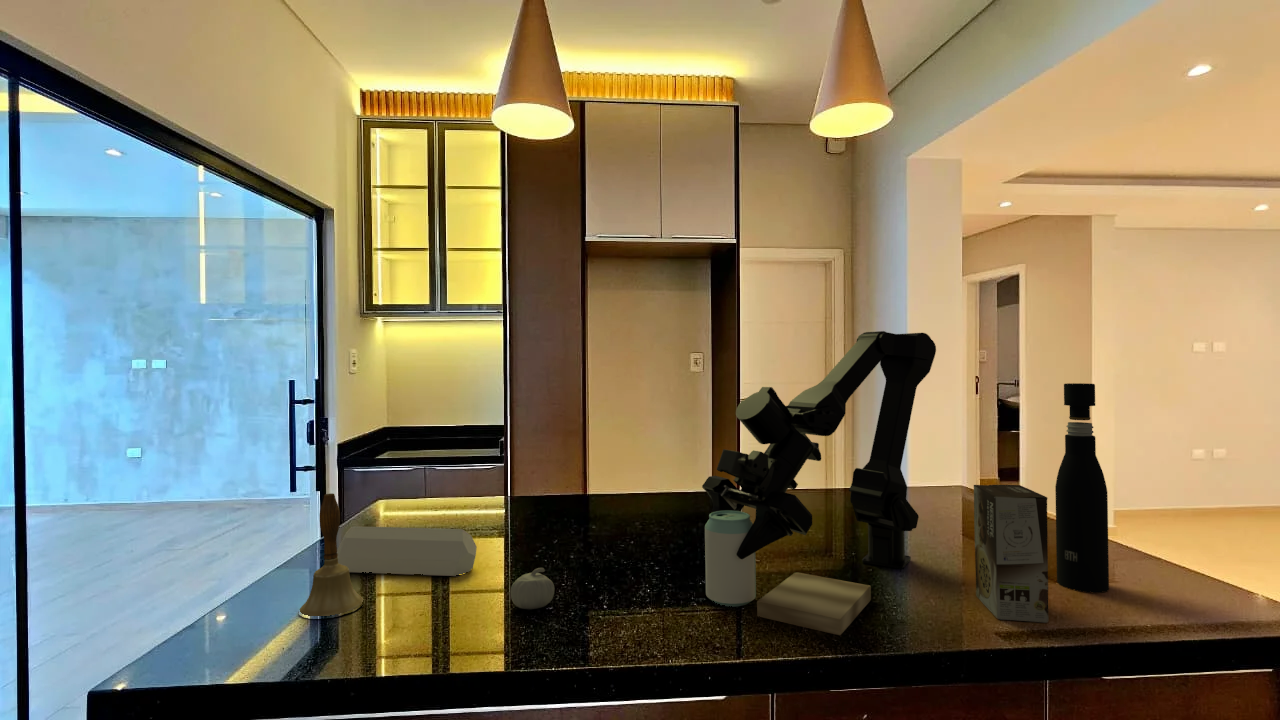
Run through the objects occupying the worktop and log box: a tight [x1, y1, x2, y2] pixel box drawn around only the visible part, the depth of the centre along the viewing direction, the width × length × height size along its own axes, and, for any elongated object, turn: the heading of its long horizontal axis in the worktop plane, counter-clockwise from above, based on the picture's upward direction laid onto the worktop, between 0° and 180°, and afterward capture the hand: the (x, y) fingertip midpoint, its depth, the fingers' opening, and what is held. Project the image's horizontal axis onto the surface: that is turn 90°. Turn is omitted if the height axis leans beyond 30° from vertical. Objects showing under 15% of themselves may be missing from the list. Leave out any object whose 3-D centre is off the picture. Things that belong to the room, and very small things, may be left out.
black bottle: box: [1054, 382, 1110, 594], centre depth 95 cm, size 6×6×30 cm
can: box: [704, 510, 757, 608], centre depth 90 cm, size 7×7×12 cm
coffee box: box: [973, 484, 1049, 624], centre depth 86 cm, size 9×6×16 cm
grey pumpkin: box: [510, 567, 555, 610], centre depth 89 cm, size 6×5×5 cm
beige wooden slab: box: [756, 571, 872, 636], centre depth 87 cm, size 14×11×2 cm
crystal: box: [337, 525, 477, 577], centre depth 105 cm, size 7×7×24 cm
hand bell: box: [299, 493, 364, 616], centre depth 89 cm, size 8×8×16 cm
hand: (722, 550), depth 89 cm, fingers closed on can, 7 cm apart
